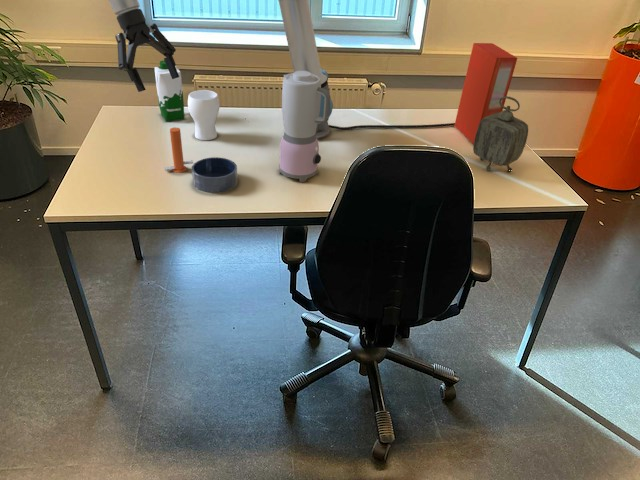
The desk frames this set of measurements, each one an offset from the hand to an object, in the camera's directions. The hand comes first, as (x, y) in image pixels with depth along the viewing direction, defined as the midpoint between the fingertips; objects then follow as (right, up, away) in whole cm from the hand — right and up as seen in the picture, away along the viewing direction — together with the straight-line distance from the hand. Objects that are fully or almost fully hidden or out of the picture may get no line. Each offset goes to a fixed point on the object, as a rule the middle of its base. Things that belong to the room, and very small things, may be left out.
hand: (159, 84), depth 159 cm
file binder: (+108, -7, +42) cm, 116 cm away
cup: (+8, -10, +27) cm, 30 cm away
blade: (+5, -26, +5) cm, 27 cm away
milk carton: (-7, -1, +39) cm, 40 cm away
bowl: (+17, -30, 0) cm, 34 cm away
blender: (+43, -26, +8) cm, 51 cm away
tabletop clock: (+107, -23, +19) cm, 111 cm away
